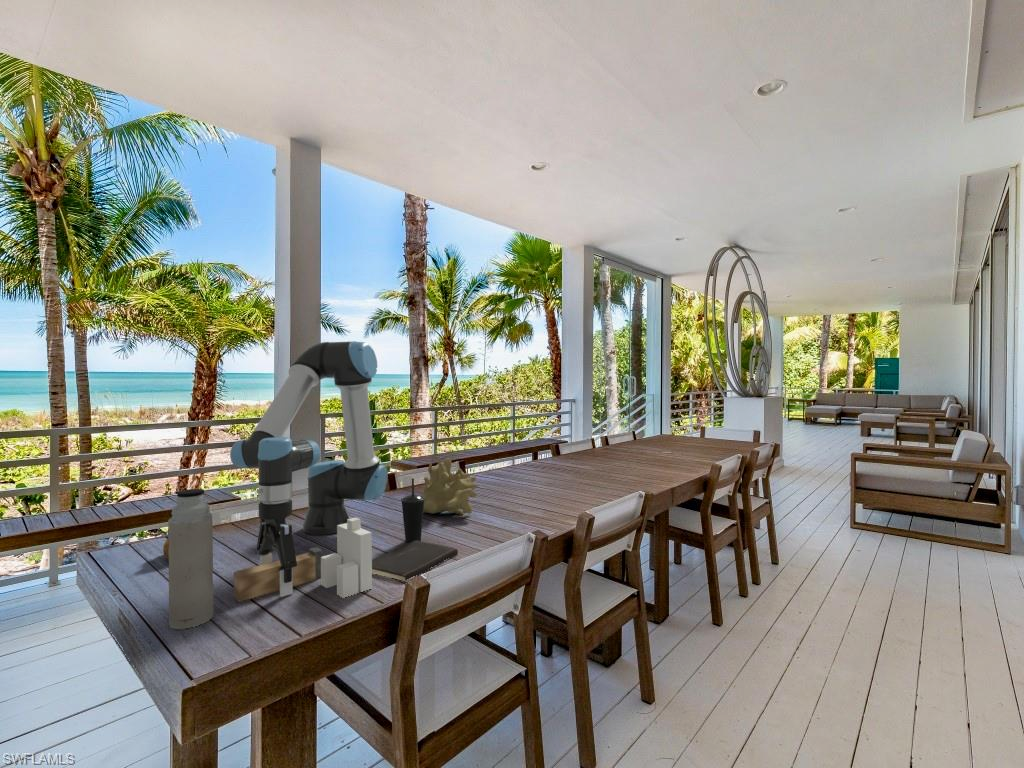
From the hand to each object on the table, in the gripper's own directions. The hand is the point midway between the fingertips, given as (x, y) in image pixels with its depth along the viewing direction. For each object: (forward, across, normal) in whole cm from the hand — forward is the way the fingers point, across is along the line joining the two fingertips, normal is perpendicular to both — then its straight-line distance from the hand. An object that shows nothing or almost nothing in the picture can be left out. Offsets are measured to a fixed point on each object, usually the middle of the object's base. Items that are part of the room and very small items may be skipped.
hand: (275, 587), depth 123 cm
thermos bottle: (0, +4, -19) cm, 19 cm away
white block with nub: (0, +12, +12) cm, 17 cm away
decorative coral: (0, -22, +72) cm, 75 cm away
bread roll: (0, -43, -10) cm, 44 cm away
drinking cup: (0, -5, +44) cm, 44 cm away
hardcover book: (+1, +10, +33) cm, 35 cm away
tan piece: (0, 0, 0) cm, 0 cm away
